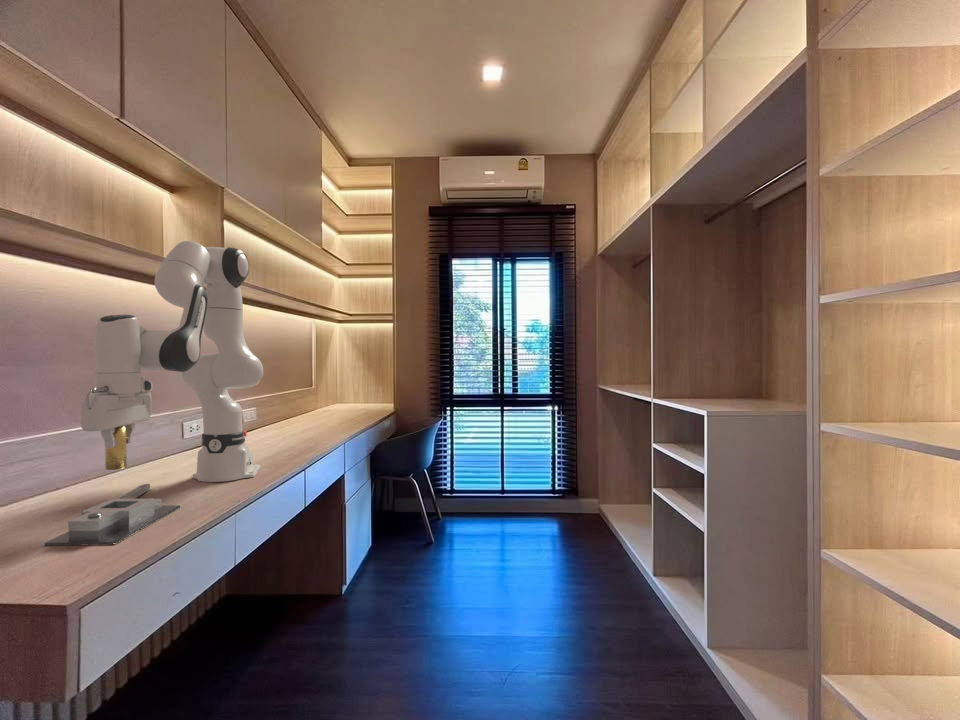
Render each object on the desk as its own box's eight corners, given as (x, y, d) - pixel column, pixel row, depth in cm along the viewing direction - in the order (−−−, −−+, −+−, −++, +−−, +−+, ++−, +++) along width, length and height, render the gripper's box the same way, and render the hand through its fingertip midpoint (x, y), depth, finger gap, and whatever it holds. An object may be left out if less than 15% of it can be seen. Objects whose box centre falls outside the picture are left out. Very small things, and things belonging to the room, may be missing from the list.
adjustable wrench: (141, 490, 154) (140, 483, 154) (165, 486, 155) (165, 480, 155) (96, 514, 129) (95, 506, 129) (125, 510, 131) (125, 502, 131)
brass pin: (110, 466, 124) (110, 423, 124) (129, 465, 125) (129, 422, 124) (102, 470, 120) (101, 425, 120) (121, 469, 121) (121, 425, 120)
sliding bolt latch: (123, 508, 135) (122, 488, 135) (180, 507, 136) (179, 488, 136) (44, 545, 109) (44, 521, 109) (115, 544, 110) (115, 520, 110)
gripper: (102, 388, 112) (103, 454, 112) (156, 382, 132) (157, 438, 132) (71, 388, 112) (71, 454, 112) (130, 383, 132) (130, 438, 132)
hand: (118, 445), depth 122 cm, fingers closed on brass pin, 4 cm apart
